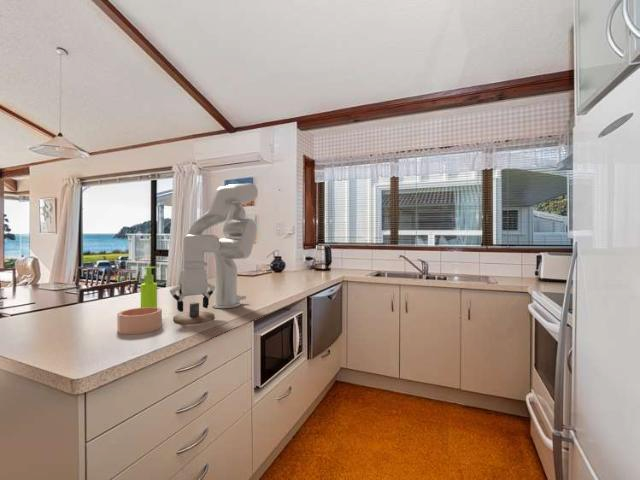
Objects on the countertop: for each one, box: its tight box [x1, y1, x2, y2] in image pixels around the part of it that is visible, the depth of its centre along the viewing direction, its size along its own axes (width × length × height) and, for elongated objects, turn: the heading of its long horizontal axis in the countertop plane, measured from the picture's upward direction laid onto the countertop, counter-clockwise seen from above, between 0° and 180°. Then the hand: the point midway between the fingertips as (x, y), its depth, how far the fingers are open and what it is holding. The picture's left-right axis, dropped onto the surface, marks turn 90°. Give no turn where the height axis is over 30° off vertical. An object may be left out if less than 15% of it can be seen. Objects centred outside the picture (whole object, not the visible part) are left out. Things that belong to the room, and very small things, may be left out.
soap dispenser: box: [140, 266, 158, 308], centre depth 126 cm, size 6×7×20 cm
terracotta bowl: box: [116, 307, 163, 335], centre depth 108 cm, size 13×13×6 cm
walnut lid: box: [172, 302, 215, 325], centre depth 121 cm, size 15×15×6 cm
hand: (193, 309), depth 121 cm, fingers open, 9 cm apart
